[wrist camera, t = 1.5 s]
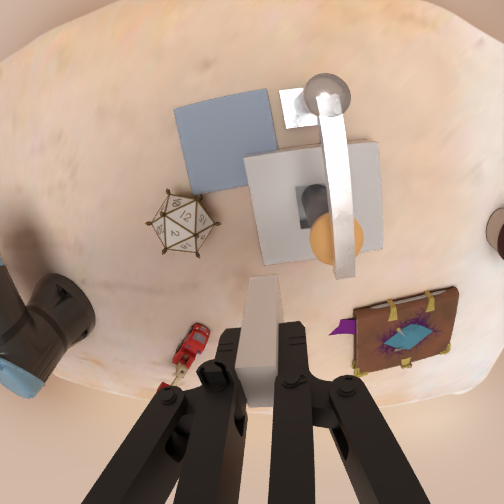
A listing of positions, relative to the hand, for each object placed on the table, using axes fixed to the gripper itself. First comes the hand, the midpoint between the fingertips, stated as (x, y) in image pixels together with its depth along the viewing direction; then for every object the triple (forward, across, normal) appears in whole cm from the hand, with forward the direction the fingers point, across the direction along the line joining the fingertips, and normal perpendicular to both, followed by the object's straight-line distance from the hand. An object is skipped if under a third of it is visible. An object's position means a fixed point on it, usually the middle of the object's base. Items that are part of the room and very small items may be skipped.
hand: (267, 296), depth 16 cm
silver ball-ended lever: (+8, +6, +4) cm, 11 cm away
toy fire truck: (+24, -20, -26) cm, 40 cm away
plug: (+23, +6, -2) cm, 24 cm away
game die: (+24, -12, -1) cm, 27 cm away
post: (+24, +6, +10) cm, 27 cm away
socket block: (+24, +6, -2) cm, 25 cm away
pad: (+24, -4, +8) cm, 25 cm away
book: (+25, +18, -28) cm, 42 cm away
